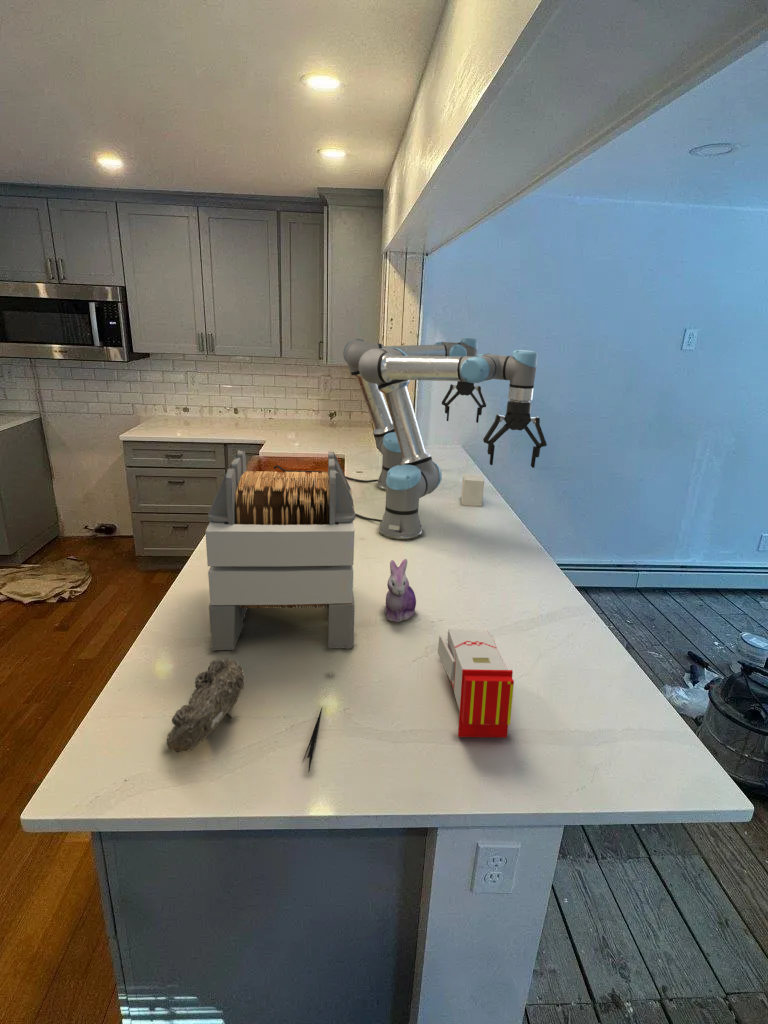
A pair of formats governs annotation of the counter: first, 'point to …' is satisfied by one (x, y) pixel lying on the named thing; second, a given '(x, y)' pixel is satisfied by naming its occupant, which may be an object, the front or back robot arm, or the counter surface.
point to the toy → (478, 682)
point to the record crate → (281, 548)
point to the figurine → (399, 594)
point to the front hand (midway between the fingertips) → (511, 465)
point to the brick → (472, 490)
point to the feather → (313, 740)
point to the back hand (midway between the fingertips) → (462, 421)
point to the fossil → (206, 705)
